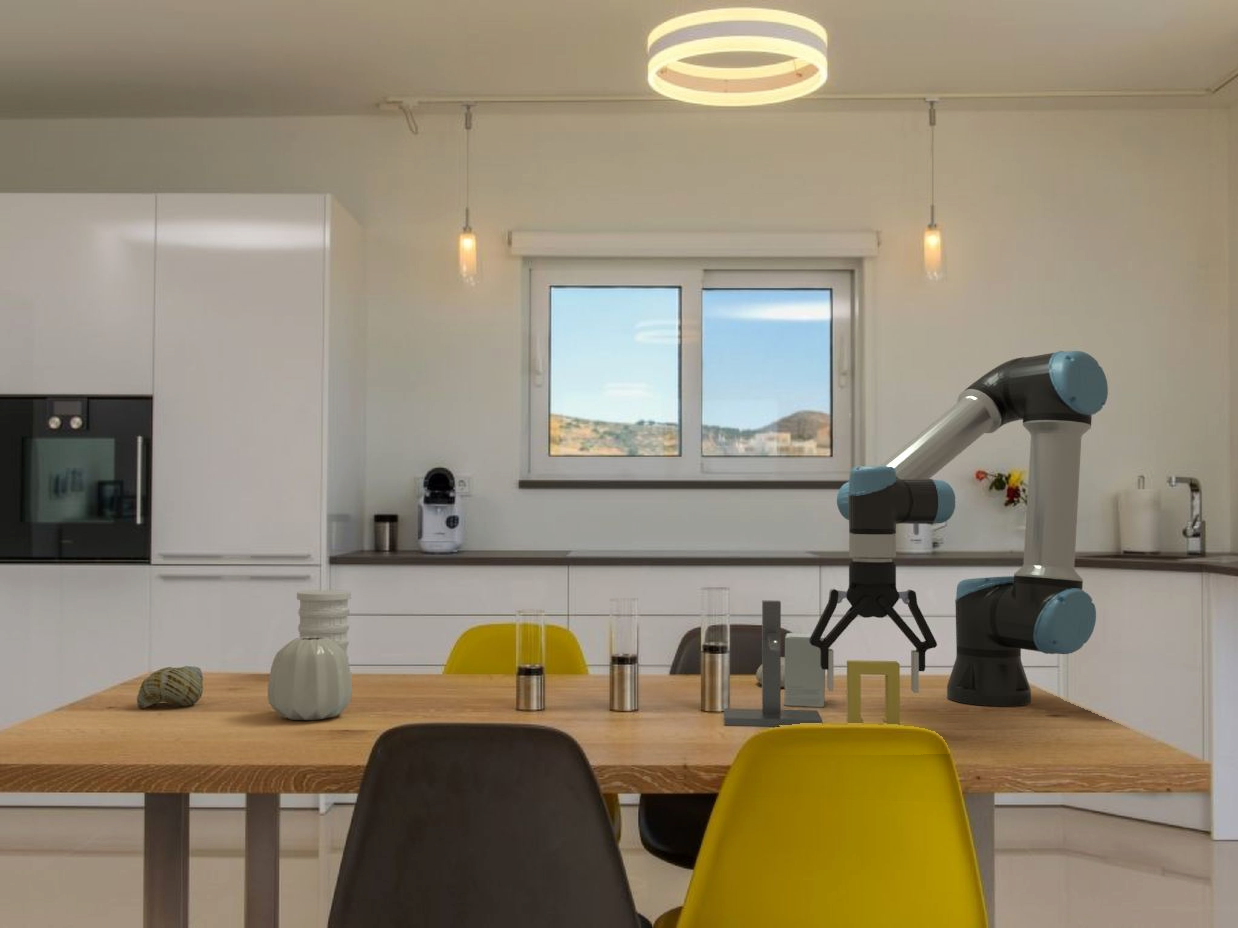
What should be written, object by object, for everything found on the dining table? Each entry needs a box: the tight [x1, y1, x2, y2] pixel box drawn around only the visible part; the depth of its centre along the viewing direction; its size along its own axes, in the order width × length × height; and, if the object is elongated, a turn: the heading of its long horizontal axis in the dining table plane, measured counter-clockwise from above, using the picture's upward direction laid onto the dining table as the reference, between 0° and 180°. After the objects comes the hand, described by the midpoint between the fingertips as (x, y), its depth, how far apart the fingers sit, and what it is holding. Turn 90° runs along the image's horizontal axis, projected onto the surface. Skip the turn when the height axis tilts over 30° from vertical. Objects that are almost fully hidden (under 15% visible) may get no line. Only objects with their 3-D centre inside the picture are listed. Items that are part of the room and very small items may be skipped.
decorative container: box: [296, 589, 352, 678], centre depth 234 cm, size 12×12×18 cm
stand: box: [723, 599, 823, 727], centre depth 189 cm, size 16×16×20 cm
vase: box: [267, 637, 353, 721], centre depth 193 cm, size 14×14×13 cm
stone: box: [755, 656, 785, 689], centre depth 232 cm, size 13×10×8 cm
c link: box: [846, 659, 901, 725], centre depth 185 cm, size 8×4×11 cm, turn 85°
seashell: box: [136, 665, 204, 709], centre depth 203 cm, size 10×10×10 cm
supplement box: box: [783, 632, 826, 708], centre depth 210 cm, size 7×7×13 cm
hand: (872, 690), depth 185 cm, fingers open, 13 cm apart
